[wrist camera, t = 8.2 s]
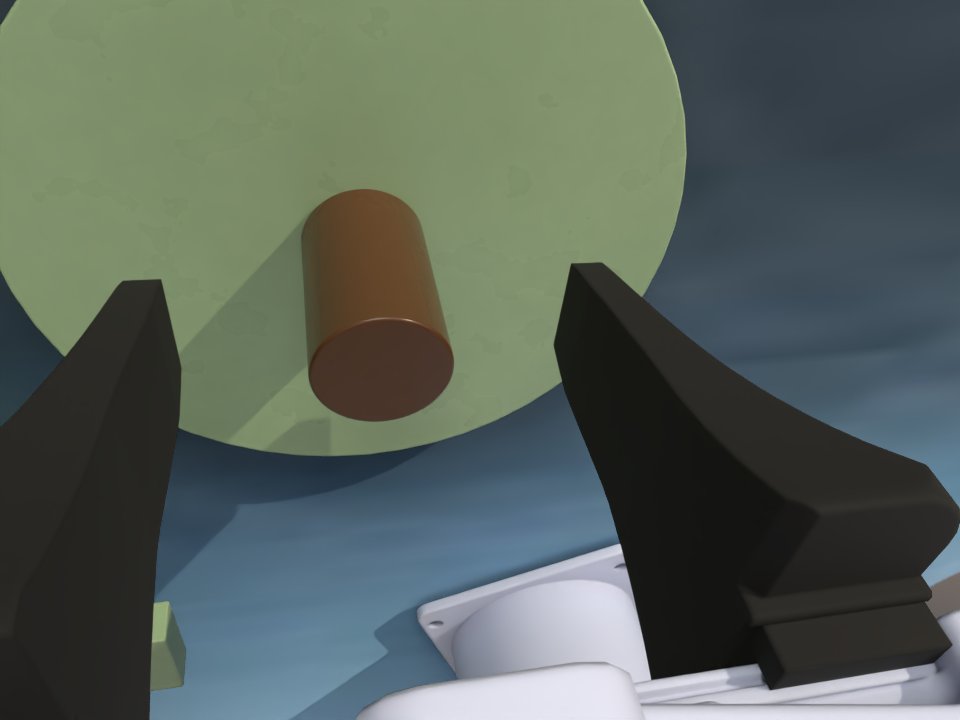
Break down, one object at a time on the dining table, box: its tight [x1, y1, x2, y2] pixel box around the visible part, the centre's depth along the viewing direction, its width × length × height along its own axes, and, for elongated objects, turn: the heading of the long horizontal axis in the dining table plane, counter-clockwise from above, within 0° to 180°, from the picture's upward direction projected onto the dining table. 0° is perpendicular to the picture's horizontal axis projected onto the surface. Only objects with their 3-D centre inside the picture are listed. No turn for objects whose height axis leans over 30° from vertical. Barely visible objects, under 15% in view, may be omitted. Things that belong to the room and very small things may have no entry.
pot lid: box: [0, 0, 687, 456], centre depth 14 cm, size 13×13×5 cm
